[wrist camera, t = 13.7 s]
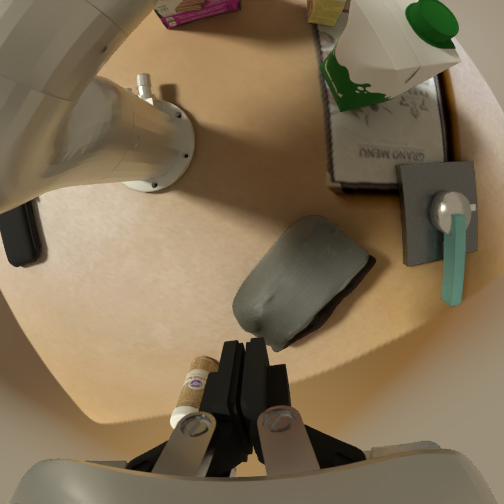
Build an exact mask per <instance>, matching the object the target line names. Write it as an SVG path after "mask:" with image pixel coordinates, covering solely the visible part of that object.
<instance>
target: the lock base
mask: <svg viewBox="0 0 504 504" xmlns="http://www.w3.org/2000/svg"><path fill="white" fill-rule="evenodd" d="M395 166H396V173H397V181H398V190H399V199H400V210H401V222H402V239H403V264H405V265H406V266H413V265H417V264H422V263H426V262H431V261H435V260H440V259H444V233H443V232H440V231H438V230H437V229H436V228H435V227H434V225H433V224H432V221H431V217H430V207H431V203H432V201H433V199H434V197H435V196H436V195H437V194H438V193H439V192H441V191H453V192H459V193H462V194H463V195H464V196H465V197H466V198H467V199H468V201H469V203H470V207H471V220H470V223H469V226H468V228H467V229H466V249H465V253H469V252H473V251H477V197H476V183H475V172H474V163H473V161H459V162H438V163H421V164H407V165H395Z"/></svg>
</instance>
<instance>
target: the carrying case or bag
mask: <svg viewBox="0 0 504 504" xmlns="http://www.w3.org/2000/svg"><path fill="white" fill-rule="evenodd" d="M32 200H33V199H32ZM32 200H30V201H32ZM30 201H28V202H26V203H24V204H22V205H20V206H18V207H16V208H13V209H11V210H9V211H6V212H4V213H1V214H0V232H1V236H2V240H3V244H4V248H5V252H6V255H7V258H8V261H9V263H10V264H12V265H13V266H14V267H19V266H23V265H26V264H29V263H32V262H35V261H37V260H38V258H39V256H40V247H41V246H40V243H39V240H38V236H37V231H36V227H35V223H34V218H33V213H32V208H31V203H30Z"/></svg>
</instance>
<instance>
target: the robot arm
mask: <svg viewBox="0 0 504 504" xmlns="http://www.w3.org/2000/svg"><path fill="white" fill-rule="evenodd" d="M157 2H158V0H0V214H1V213H4V212H6V211H9V210H11V209H13V208H16V207H18V206H20V205H22V204H24V203H26V202H28V201H30V200H32V199H34V198H36V197H38V196H40V195H42V194H44V193H46V192H49V191H52V190H55V189H59V188H64V187H70V186H78V185H90V184H101V183H114V182H121V183H122V184H123V185H125V186H127V187H128V188H130V189H133V190H136V191H140V192H153V191H158V190H161V189H164V188H166V187H169V186H170V185H172V184H173V183H175V182H176V181H177V180H178V179H179V178H180V177H181V176H182V175H183V174H184V173H185V171H186V170H187V169H188V167H189V165H190V163H191V161H192V158H193V154H194V151H195V132H194V129H193V125H192V123H191V121H190V119H189V117H188V116H187V115H186V114H185V113H184V111H183V110H181V109H180V108H179V107H178V106H176V105H174V104H173V103H170V102H167V101H165V100H157V99H155V95H154V94H151V79H150V74H147V73H144V74H140V75H138V76H137V77H136V85H137V90H138V96H137V95H135V94H133V93H132V89H131V88H126V89H125V88H123V87H121V86H119V85H118V84H116V83H115V82H113V81H111V80H109V79H107V78H104V77H101V76H97V73H98V72H99V71H100V69H101V68H102V67H103V66H104V64H105V63H106V62H107V61H108V60H109V58H110V57H111V56H112V55H113V54H114V52H115V51H116V50H117V49H118V48H119V47H120V45H121V44H122V43H123V42H124V41H125V40H126V39H127V37H128V36H129V35H130V34H131V33H132V32H133V31H134V30H135V29H136V28H137V27H138V25H139V24H140V23H141V22H142V21H143V20H144V19H145V18H146V17H147V16H148V14H149V13H150V12H151V11H152V9H153V8H154V7H155V5H156V4H157ZM179 115H181V118H179ZM186 154H188V158H186V157H185V155H186ZM156 183H157V184H158V186H157V187H156V185H155V184H156ZM253 447H254V450H255V453H256V454H257V457H258V460H259V461H260V462H261V463H263V464H264V465H265V468H266V472H267V476H257V477H235V475H236V466H237V465H239V464H240V463H241V462H247V458H248V457H247V456H248V454H252V452H253ZM6 504H497V502H496V500H495V498H494V496H493V494H492V492H491V490H490V488H489V486H488V484H487V482H486V481H485V479H484V478H483V476H482V474H481V473H480V471H479V470H478V469H477V467H476V466H475V465H474V464H473V462H472V461H471V460H470V459H469V458H468V457H467V456H465V455H464V454H462V453H460V452H458V451H455V450H451V449H441V448H440V446H439V445H437V444H436V443H434V442H432V441H420V442H414V443H407V444H400V445H393V446H384V447H374V448H372V449H371V450H369V451H362V450H360V449H358V448H357V447H354V446H352V445H350V444H347V443H345V442H342V441H340V440H338V439H335V438H333V437H331V436H329V435H326V434H324V433H322V432H320V431H318V430H316V429H313V428H311V427H309V426H307V425H305V424H304V423H303V421H302V418H301V415H300V413H299V412H298V411H297V410H296V409H295V408H293V407H291V400H290V391H289V383H288V376H287V370H286V364H280V365H273V366H270V365H269V359H268V354H267V349H266V344H265V339H264V337H258V338H251V342H247V343H246V350H245V348H244V345H243V343H239V342H238V340H235V341H226V342H224V346H223V350H222V354H221V359H220V363H219V367H218V372H210V373H209V374H208V377H207V381H206V385H205V388H204V392H203V396H202V400H201V403H200V407H199V411H198V412H194V413H190V414H188V415H185V416H184V417H183V418H181V419H180V421H179V422H178V423H177V425H176V427H175V429H174V431H173V433H172V434H171V436H170V439H169V440H168V441H166V442H164V443H162V444H160V445H159V446H157V447H155V448H153V449H151V450H149V451H148V452H146V453H144V454H142V455H140V456H138V457H136V458H135V459H133V460H131V461H130V462H129V463H127V462H126V461H80V460H72V459H47V460H43V461H39V462H37V463H36V464H34V465H33V466H32V467H31V468H30V469H29V470H28V471H27V472H26V474H25V475H24V476H23V478H22V479H21V481H20V482H19V483H18V485H17V486H16V488H15V490H14V491H13V493H12V494H11V496H10V498H9V499H8V501H7V503H6Z"/></svg>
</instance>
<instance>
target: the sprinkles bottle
mask: <svg viewBox="0 0 504 504" xmlns="http://www.w3.org/2000/svg"><path fill="white" fill-rule="evenodd" d="M210 372H218V365H217V364H216V363H215V361H213V360H212V359H210V358H207V357H198V358H196V359H194V360H193V361H192V363H191V368H190V371H189V373H188V375H187V377H186V380H185V383H184V385H183V388H182V391H181V394H180V396H179V401H178V403H177V406H176V408H175V409H174V411H173V413H172V416H171V419H170V424H171V426H172V427H173V428H174V429H175V427H176V425H177V423H178V422H179V421H180V419H181V418H183V417H184V416H185V415H188V414H190V413H194V412H198V411H199V407H200V403H201V400H202V396H203V392H204V388H205V385H206V381H207V377H208V374H209V373H210Z"/></svg>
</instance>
